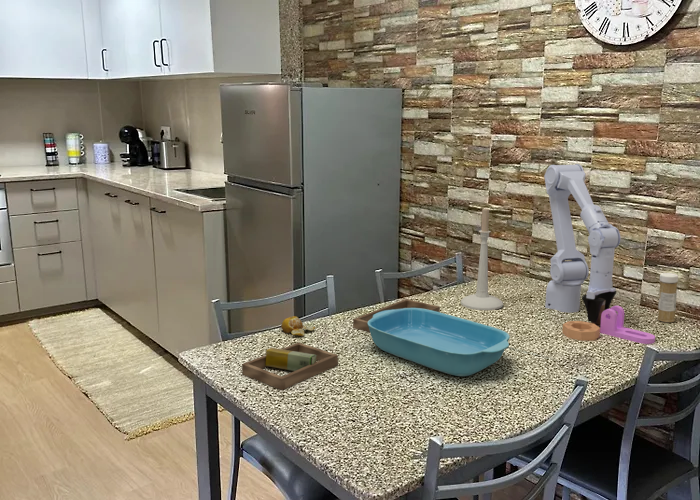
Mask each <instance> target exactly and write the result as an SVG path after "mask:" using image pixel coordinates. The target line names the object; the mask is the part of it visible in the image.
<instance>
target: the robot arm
mask: <svg viewBox="0 0 700 500" xmlns="http://www.w3.org/2000/svg"><path fill="white" fill-rule="evenodd" d="M543 177H544V183H545V184H544V185H545V190H546V194H547V195H548V199H549V206H550V211H551V218H552V225H553V229H554V230H553V232H554V235H555V238H554V239H555V242H556V243H555V244H556V250H557V251H556V252H555V254H553V256H552V257H551V258H549V259H550V260H549V261H550V269H549V271H550V272H549V273H550V274H549V275H550V277H551V280H550V281H549V282H548V283H547V286H546V289H545V290H546V291H545V305H544V307H545V309H548V310H549V309H550V310H555V311H558V312H563V313H577V312H579V311H580V307H581V299H582V302H583V303H584V305H585V311H586V314H587V320H588V322H590V323H591V322H597V320H598V316H599V312H600V308H601V306H602V304H603V302H604V301H605V310H607V309H610V308H611V303H612V302H613V299H614V297H615V296H616V295H617V289H616V287H613V284H614V281H613V272H614V263H615V261H614V260H615V249H616V248H618V247H619V245H620V243H621V233H620V230H619V229H618V228H617V227H616V226H614V225H613V224H611V223H609V221H608V219H607V218H606V215H605V214H604V212H603V210H602V208H601V206H599V205H598V204H594V202H593V198H592V197H591V195H590V192H589V190H588V187H587V185H586V183H585V182H586V181H585V180H586V177H587V176H586V172H585V170H584V168H583V165H581V164H580V163H575V164H551V165H549V166H548V167H547V169H546V171H545V173H544V175H543ZM570 195H572V197H573V199H574V200H575V201H576V203H577V204H578V206H579V208H580V210H581V211H580V214H579V216H580V219H581V220H582V222H583V224H584V226H585V228H586V230H587V232H588V234H589V235H588V236H587V242H588V244H589V253H590V255H591V258H590V259H591V260H590V269H589V265H588V263H587V262H586V257H585V254H583V253H582V252H580V251H579V250H578V249H577V247H576V240H575V233H574V228H573V222H572V216H571V210H570V209H571V208H570V203H569V197H570ZM588 277H589V284H588V287H587V289H588V290H587V291H586V294H583V295H582V296H581V292H582V285H583V284H584V282H585V280H587V279H588ZM599 298H602V299H599Z"/></svg>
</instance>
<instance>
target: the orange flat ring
mask: <svg viewBox="0 0 700 500" xmlns="http://www.w3.org/2000/svg"><path fill="white" fill-rule="evenodd" d="M561 332H562V334H563V335H564V336H565V337H566V338H567V339H571V340H576V341H581V342H582V341H583V342H584V341H587V342H588V341H596V340H597V339H599V338H600V337H601V335H600V334H601V333H600V327H599V326H597V325H595V324H593V323H591V322H590V321H588V322H587V321H583V320H569V321H568V320H567V321H566V322H565V323H563V324H562V331H561Z"/></svg>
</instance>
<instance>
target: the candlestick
mask: <svg viewBox="0 0 700 500" xmlns="http://www.w3.org/2000/svg"><path fill="white" fill-rule="evenodd" d="M489 215H490V209H489V208H482V209H481V230H478V232H479V234H480V235H479V238H481V242H480V251H479V260H478V261H479V262H478V269H477V271H478V272H477V282H476V291H475V293H474V294H469V295H466V296H464V297H463V298H461V300H460V305H462V306H463V307H465V308H467V309H470V310H476V311H477V310H478V311H495V310H499V309H501V308H502V307H504V303H503V301H502V300H501V299H500V298H498V297H497V296H494V295H491V294H489V267H488V266H489V265H488V264H489V263H488V262H489V261H488V260H489V258H488V250H489V249H488V247H489V246H488V244H489V243H488V238H489V237H490V233H491V232H492V231H491V230H489V223H490V222H489V218H490V217H489Z"/></svg>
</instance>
